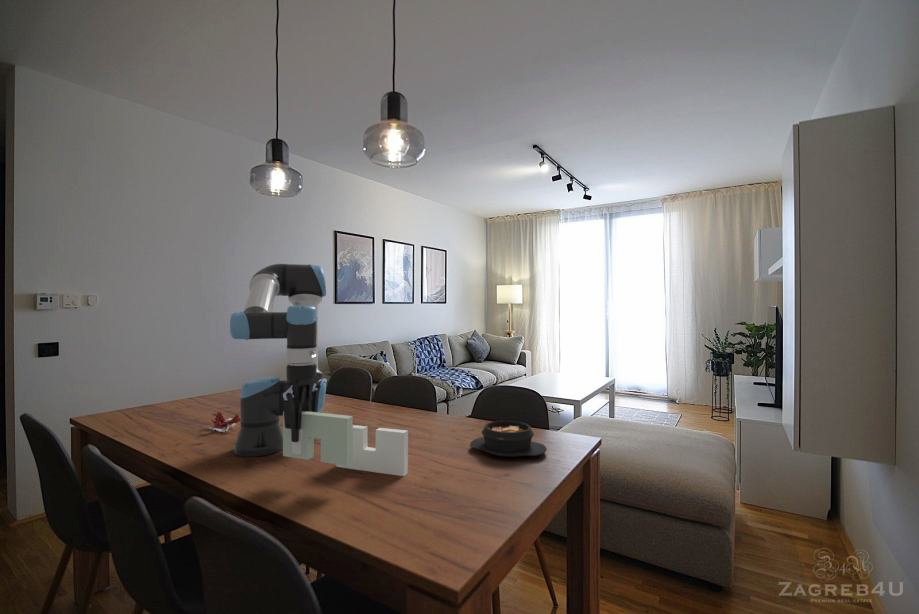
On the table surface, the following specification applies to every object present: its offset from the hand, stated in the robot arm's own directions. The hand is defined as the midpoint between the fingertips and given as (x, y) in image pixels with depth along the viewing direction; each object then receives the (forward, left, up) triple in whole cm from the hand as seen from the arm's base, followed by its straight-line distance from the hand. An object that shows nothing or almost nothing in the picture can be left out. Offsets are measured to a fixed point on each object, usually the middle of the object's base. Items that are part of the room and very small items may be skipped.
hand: (301, 451), depth 112 cm
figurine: (-61, +31, -9) cm, 69 cm away
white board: (+13, +14, -8) cm, 21 cm away
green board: (+5, 0, -2) cm, 5 cm away
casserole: (+47, +42, -9) cm, 64 cm away
